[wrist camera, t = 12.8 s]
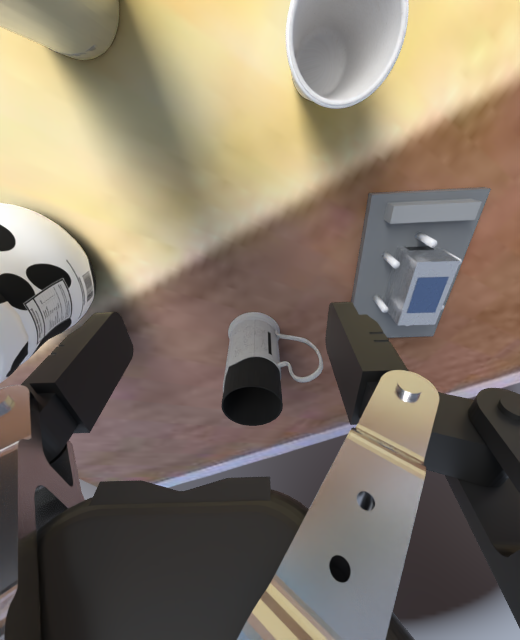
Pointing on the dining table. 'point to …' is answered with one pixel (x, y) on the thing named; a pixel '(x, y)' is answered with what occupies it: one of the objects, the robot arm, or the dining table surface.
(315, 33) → the dixie cup
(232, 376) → the white and black mug
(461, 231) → the grey tapered peg board
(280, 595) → the robot arm
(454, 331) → the dining table surface
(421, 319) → the block
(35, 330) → the milk container
